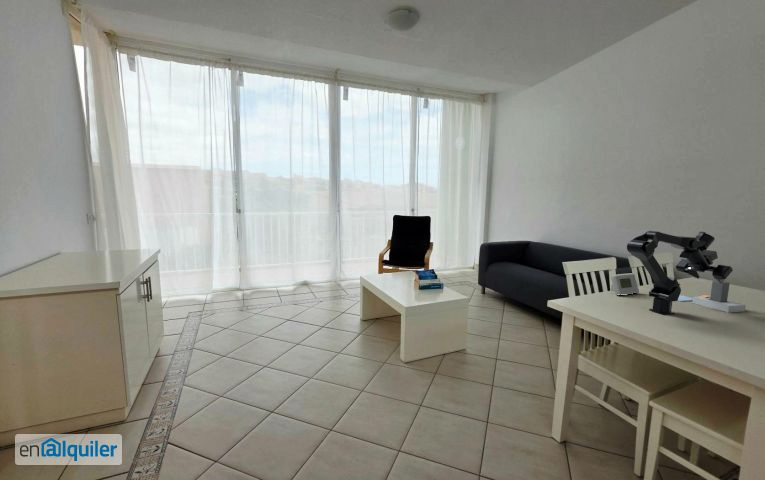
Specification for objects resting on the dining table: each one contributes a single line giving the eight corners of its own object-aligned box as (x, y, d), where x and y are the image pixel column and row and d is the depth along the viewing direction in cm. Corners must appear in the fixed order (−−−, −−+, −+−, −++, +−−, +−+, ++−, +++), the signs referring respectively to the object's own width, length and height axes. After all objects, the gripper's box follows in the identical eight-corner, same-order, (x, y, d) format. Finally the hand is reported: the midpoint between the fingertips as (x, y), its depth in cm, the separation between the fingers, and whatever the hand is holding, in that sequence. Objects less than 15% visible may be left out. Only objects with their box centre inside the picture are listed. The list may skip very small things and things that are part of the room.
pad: (680, 301, 159) (681, 300, 159) (659, 295, 168) (660, 294, 168) (696, 300, 161) (697, 299, 160) (675, 294, 170) (675, 293, 170)
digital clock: (617, 296, 167) (618, 276, 165) (603, 291, 175) (604, 272, 174) (644, 295, 169) (646, 276, 167) (629, 291, 178) (631, 272, 176)
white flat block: (727, 312, 143) (729, 304, 143) (692, 302, 157) (693, 295, 157) (744, 311, 145) (746, 303, 145) (708, 301, 159) (709, 294, 159)
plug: (719, 308, 149) (723, 279, 147) (709, 305, 153) (713, 276, 151) (726, 307, 150) (730, 278, 148) (715, 305, 154) (719, 276, 152)
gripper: (732, 247, 136) (747, 272, 140) (682, 242, 154) (697, 263, 158) (716, 266, 135) (732, 290, 139) (668, 259, 153) (683, 280, 157)
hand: (710, 280), depth 148 cm, fingers open, 9 cm apart
